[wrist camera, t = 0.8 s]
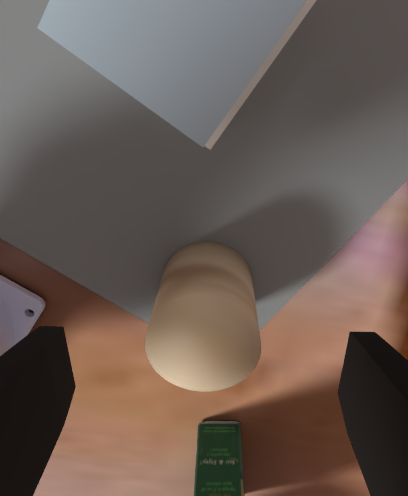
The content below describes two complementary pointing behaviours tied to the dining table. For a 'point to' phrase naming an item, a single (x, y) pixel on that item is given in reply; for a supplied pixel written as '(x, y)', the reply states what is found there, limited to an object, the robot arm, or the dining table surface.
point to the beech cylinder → (204, 319)
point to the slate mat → (203, 158)
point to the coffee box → (219, 459)
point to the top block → (173, 50)
